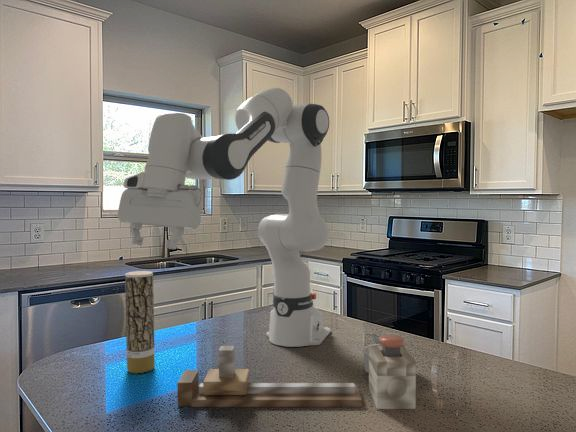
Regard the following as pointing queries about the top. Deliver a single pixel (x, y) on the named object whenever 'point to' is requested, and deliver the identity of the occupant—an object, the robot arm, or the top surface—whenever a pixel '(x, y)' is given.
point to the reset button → (391, 345)
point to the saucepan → (366, 352)
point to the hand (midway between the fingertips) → (153, 246)
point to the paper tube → (139, 321)
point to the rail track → (258, 399)
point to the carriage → (226, 376)
